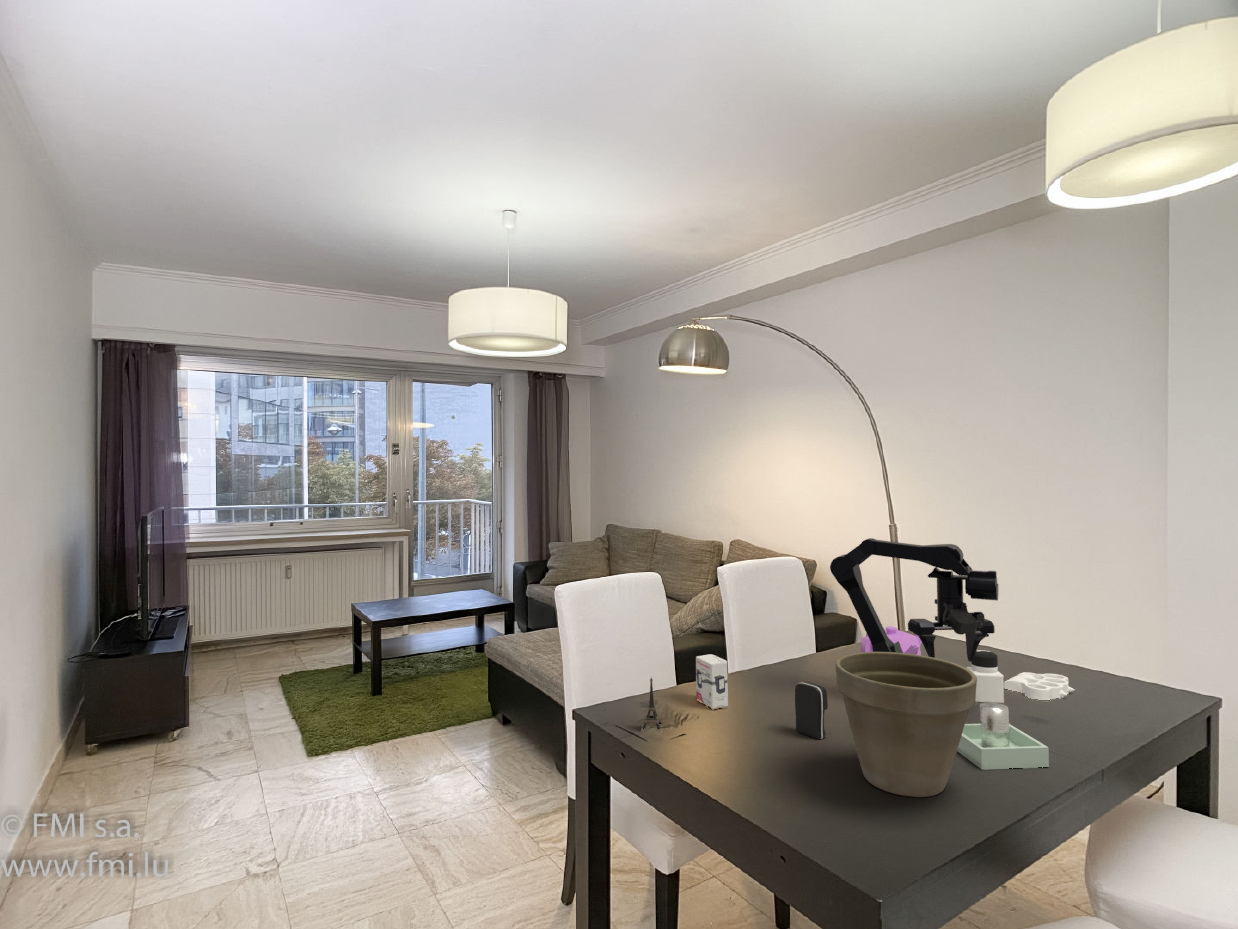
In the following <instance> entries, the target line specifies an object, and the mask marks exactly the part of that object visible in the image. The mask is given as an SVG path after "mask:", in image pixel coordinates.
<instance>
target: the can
mask: <svg viewBox="0 0 1238 929" xmlns="http://www.w3.org/2000/svg"><path fill="white" fill-rule="evenodd" d="M979 713H980V718H979V719H980V724H981V746H982V747H983V748H989V747H1010V741H1009V724H1010V717H1009V716H1010V715H1009V714H1010V711H1009V707H1008V706H1007V705H1006V704H1004V703H993V702H980V704H979Z"/></svg>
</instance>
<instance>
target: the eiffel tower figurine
mask: <svg viewBox="0 0 1238 929" xmlns="http://www.w3.org/2000/svg"><path fill="white" fill-rule="evenodd" d="M653 681H654V680H653V678H652V677H650V679H649V682H650V685H649V686H650V689H649V703H648V704H649V705H648V708H647V709H648V710H647V714H646V716H645V720H644V721H643V723H644V725H643V727H642V728H643V729H644V728H646V726H647V725H655V726H656V727H657V729H660V725H659V724H663V722H662V721H661V720H660V719H661V718H660V717H659V714H657V711H656V705H655V701H654V700H655V699H654V691H653V690H654V687H653V686H654V685H653ZM651 712H652V714H651Z"/></svg>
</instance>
